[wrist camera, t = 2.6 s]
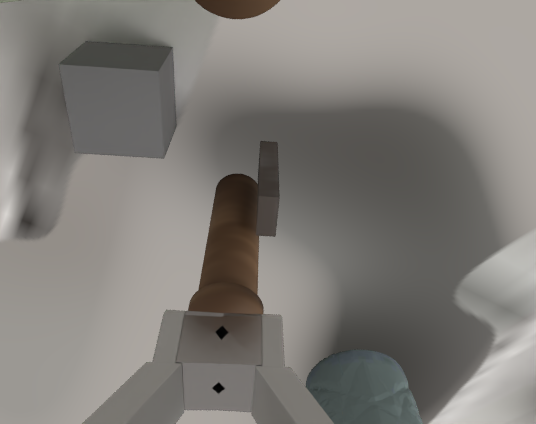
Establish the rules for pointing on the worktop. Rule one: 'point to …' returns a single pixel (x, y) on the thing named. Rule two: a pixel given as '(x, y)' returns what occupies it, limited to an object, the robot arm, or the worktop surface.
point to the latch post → (239, 238)
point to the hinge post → (237, 7)
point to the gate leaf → (1, 0)
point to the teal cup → (363, 389)
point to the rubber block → (120, 99)
